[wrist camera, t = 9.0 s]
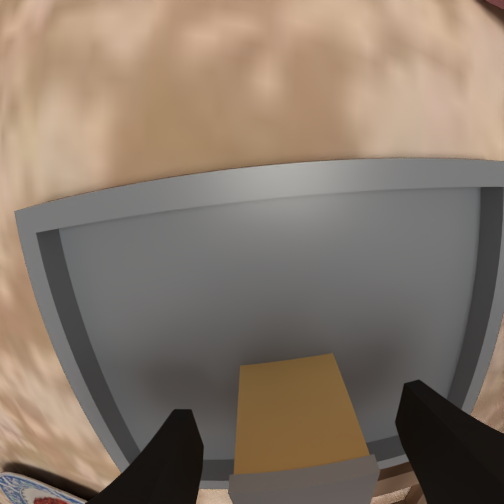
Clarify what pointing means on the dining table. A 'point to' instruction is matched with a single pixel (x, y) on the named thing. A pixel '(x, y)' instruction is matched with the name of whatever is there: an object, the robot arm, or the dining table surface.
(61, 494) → the ceramic plate
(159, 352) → the parts tray
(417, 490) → the socket
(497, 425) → the dining table surface
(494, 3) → the video game controller
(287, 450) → the block
